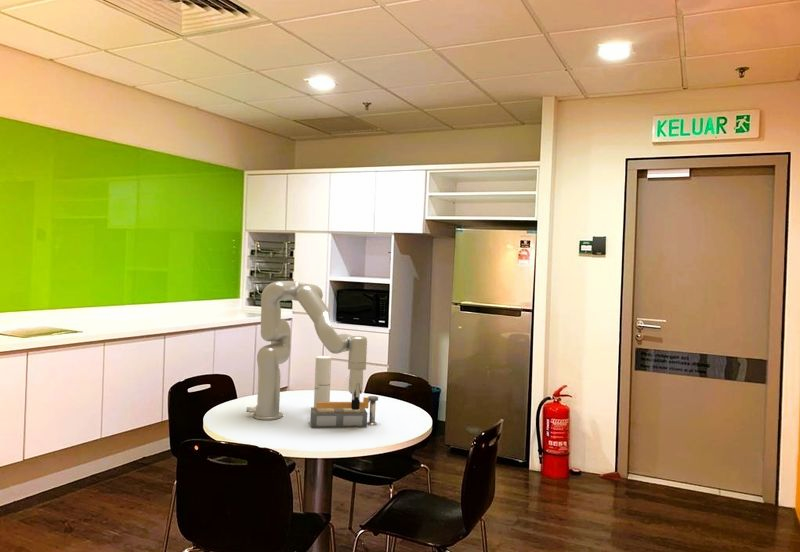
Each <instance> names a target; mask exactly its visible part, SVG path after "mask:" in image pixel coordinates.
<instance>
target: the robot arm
mask: <svg viewBox="0 0 800 552" xmlns="http://www.w3.org/2000/svg"><path fill="white" fill-rule="evenodd" d="M323 296H324V295H323V290H322V289H321V287H319V285H315V284H312V283H311V284H310V283H304V282H300V281H294V280H278V281H273V282H271V283H269V284H267V285H266V286H265V287H264V289H263V290H262V293H261V296H260V307H261V309H260V310H261V311H260V336H261V338H262V340H264V341H266V342H270V344H266V345H264V346H262V347H261V348H260V349H258V351H257V354H256V355H257V356H256V361H257V372H258V373H257V374H258V375H257V378H258V379H257V398H256V399H257V400H256V402H257V404H256V406H254V407H251V406H249V407H246V413H249V414H251V413H253V415H252V417H253V418H254V419H256V420H262V421H270V420H271V421H272V420H278V419H281V418H282V417H283V415H284V414H283V413H282V412H281V411H280V399H281V395H280V394H281V370H280V365H281V364H284V363H286V362H288V359H290V355H291V340H292V339H291V337H292V335H291V333H292V332H291V331H292V330H291V325H290V324H289V322H288V321H287V320H286V319H284V318H282V317H281V316H282V308H281V305H280V302H281V301H297V302H298V303H299V304H300V306H301V307H302V309H303V310H304V311H305V313H306V314H307V315H308V316H309V318H310V319H311V321H312V322H313V325H314V326H313V327H314V329H315V332H316V335H317V337H318V339H319V340H320V342H321V343H322V344H323V345H324V347H325V349H326V350H328V352H330V353H331V354H336V355H337V354H342V353H345V352H348V359H347V361H348V362H347V363H348V364H347V369H348V370H349V375H348V392H349V393H350V394H351V402H352V405H351V408H352V410H359V406H360V402H361V398H360V396H361V394H362V393H363V387H364V386H363V385H364V371H366V369H367V354H368V353H367V352H368V351H367V350H368V340H367V337H366V336H363V335H351V334H347V333H340V334H338V333H337V332H336V331H335V329H334V327H333V326H332V324H331V322H330V317H331V311H330V309H329V307H328V306H327V304H325V302H324V301H323Z"/></svg>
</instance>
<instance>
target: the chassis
mask: <svg viewBox="0 0 800 552" xmlns="http://www.w3.org/2000/svg"><path fill="white" fill-rule="evenodd" d="M367 422H368V411H367V410H366V408H359V410H352V408H345V409H316V407H314V406H313V407H310V427H311V429H337V428H338V429H343V428H345V429H347V428H349V429H350V428H351V429H353V428H356V429H357V428H368V424H367Z"/></svg>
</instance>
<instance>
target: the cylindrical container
mask: <svg viewBox="0 0 800 552" xmlns="http://www.w3.org/2000/svg"><path fill="white" fill-rule="evenodd" d="M314 367H315V369H314V371H315V373H314V393H313V398H314V399H313V407H316V402H331V401H330V400H331V379H332V378H331V377H332V376H331V375H332V373H331V372H332V356H328V355H318V356H315V366H314Z"/></svg>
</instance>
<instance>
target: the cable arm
mask: <svg viewBox="0 0 800 552" xmlns="http://www.w3.org/2000/svg"><path fill="white" fill-rule="evenodd" d="M362 398H363V399H362V401H360V406H359V408H365V409H369V406H370V401H376V402H377V401H379V396H376V395H369V396H363V397H362ZM351 405H352V401H330V402H316V409H345V408H351Z"/></svg>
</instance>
